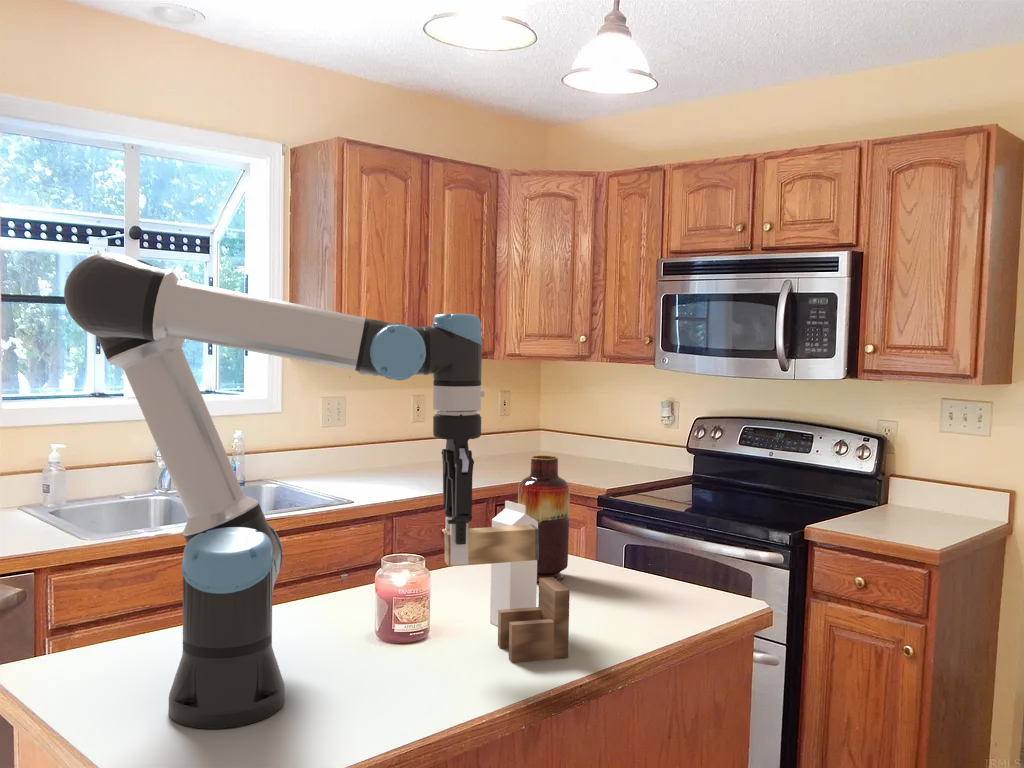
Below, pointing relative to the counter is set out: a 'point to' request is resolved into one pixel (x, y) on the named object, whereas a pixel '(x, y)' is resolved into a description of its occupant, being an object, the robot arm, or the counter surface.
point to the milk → (512, 569)
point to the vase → (548, 513)
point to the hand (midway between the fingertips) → (456, 560)
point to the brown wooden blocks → (537, 625)
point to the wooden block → (499, 544)
